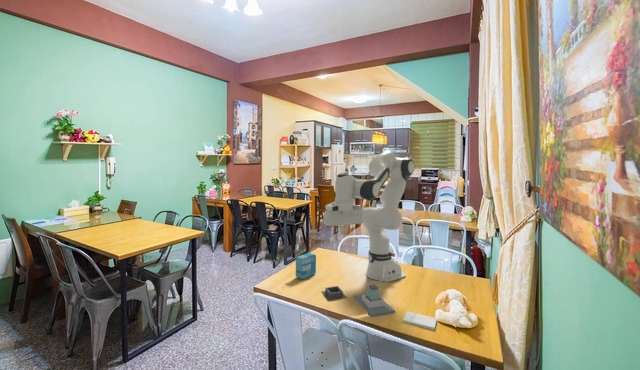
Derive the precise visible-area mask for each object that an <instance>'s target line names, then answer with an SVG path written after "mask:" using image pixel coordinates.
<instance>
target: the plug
mask: <svg viewBox="0 0 640 370" xmlns="http://www.w3.org/2000/svg"><path fill="white" fill-rule="evenodd" d="M366 290H367V291H366V292H367V293H366V294H367V299H368V300H369V301H370V302H372V301H378V300H379V296H380V292H381V291H380V289H379V287H378V286H377V285H376V284H369V285H368V286H367V289H366Z"/></svg>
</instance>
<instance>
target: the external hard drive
mask: <svg viewBox="0 0 640 370" xmlns="http://www.w3.org/2000/svg"><path fill="white" fill-rule="evenodd" d="M402 322H403V323H406V324H409V325H411V326H412V325H414V326H416V327H419V328H420V327H421V328H424V329H428V330H431V331H435V330H436V326H437V322H438V318H436V317H432V316H428V315H424V314H420V313H415V312H412V311H411V312H410V311H405V314H404V316H403V318H402Z"/></svg>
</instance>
